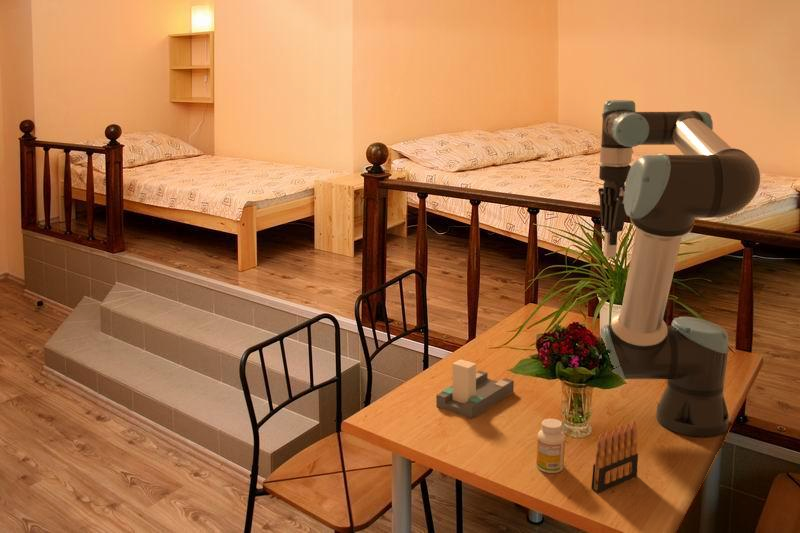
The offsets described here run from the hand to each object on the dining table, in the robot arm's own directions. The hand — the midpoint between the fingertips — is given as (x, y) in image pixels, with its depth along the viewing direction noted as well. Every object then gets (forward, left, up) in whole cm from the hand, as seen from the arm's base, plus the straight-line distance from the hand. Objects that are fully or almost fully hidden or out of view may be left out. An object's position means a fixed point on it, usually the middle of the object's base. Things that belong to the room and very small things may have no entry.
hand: (609, 256), depth 196 cm
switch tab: (-17, +43, -28) cm, 54 cm away
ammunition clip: (-55, +23, -30) cm, 67 cm away
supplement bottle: (-47, +33, -30) cm, 65 cm away
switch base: (-14, +39, -29) cm, 51 cm away
